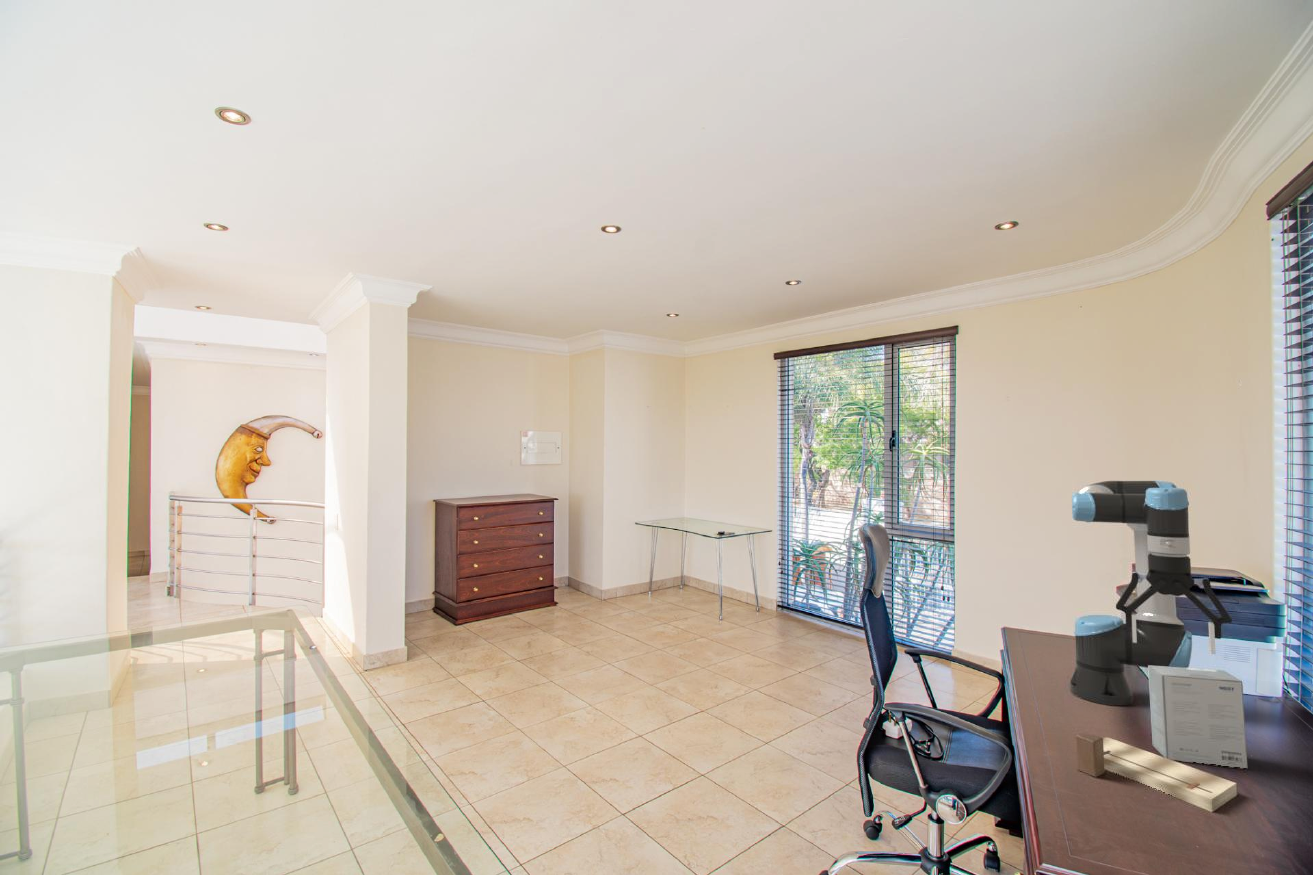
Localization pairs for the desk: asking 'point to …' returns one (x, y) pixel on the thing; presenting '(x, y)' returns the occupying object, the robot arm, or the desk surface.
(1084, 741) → the wooden block
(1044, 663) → the desk surface
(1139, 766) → the birch board
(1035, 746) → the desk surface
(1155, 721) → the hard drive box
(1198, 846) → the desk surface
